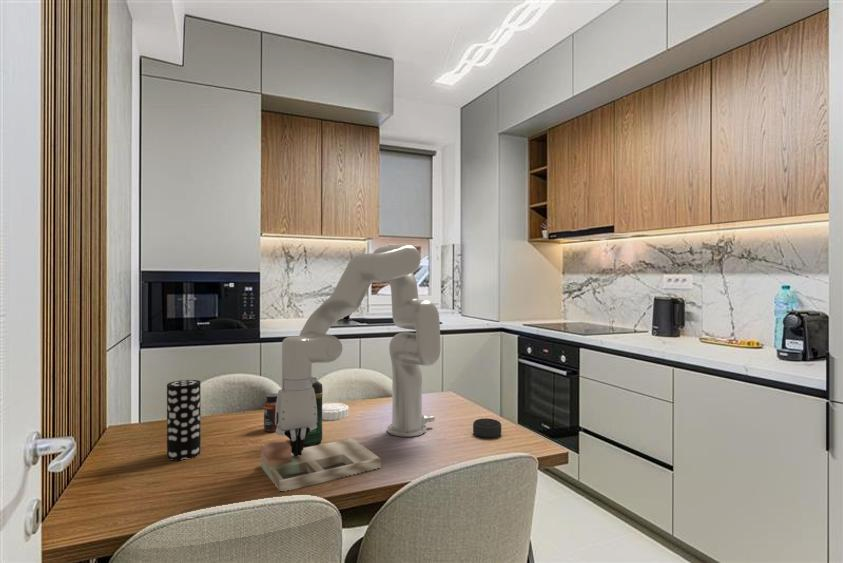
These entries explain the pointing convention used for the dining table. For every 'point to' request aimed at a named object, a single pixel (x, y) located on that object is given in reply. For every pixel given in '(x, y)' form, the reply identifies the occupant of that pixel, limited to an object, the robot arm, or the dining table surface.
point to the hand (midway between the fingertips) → (296, 454)
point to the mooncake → (334, 411)
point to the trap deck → (322, 464)
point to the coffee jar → (316, 434)
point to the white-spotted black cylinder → (183, 419)
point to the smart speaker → (487, 428)
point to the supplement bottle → (270, 413)
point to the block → (275, 453)
